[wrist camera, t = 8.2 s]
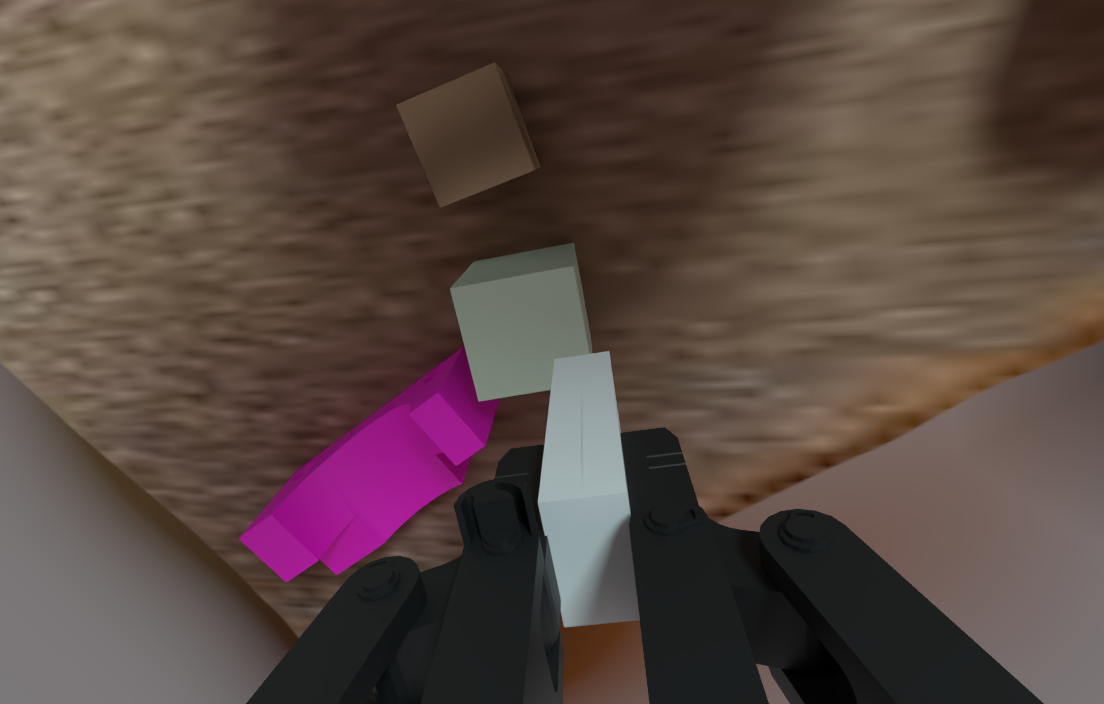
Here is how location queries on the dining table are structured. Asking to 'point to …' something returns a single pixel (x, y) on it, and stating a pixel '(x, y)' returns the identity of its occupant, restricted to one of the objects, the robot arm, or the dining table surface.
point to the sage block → (521, 319)
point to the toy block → (375, 475)
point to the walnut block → (469, 134)
